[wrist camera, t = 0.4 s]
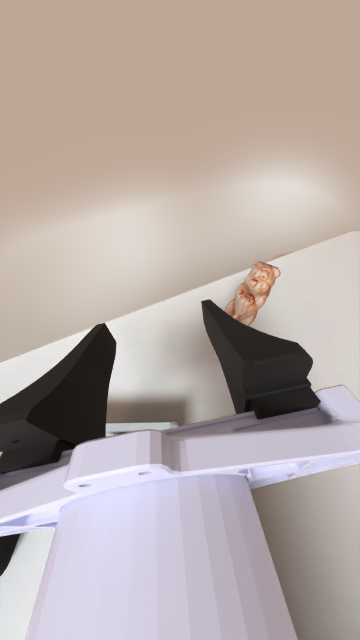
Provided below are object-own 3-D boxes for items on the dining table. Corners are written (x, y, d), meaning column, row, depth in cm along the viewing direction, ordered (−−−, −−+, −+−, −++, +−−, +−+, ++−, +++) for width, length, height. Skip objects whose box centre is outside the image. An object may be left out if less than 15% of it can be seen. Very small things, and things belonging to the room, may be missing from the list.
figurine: (214, 335, 36) (223, 272, 25) (233, 314, 40) (248, 251, 28) (241, 351, 33) (266, 288, 22) (259, 327, 37) (287, 262, 26)
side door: (180, 438, 24) (178, 431, 20) (81, 439, 25) (62, 433, 21) (180, 429, 25) (178, 420, 21) (84, 430, 25) (66, 422, 22)
